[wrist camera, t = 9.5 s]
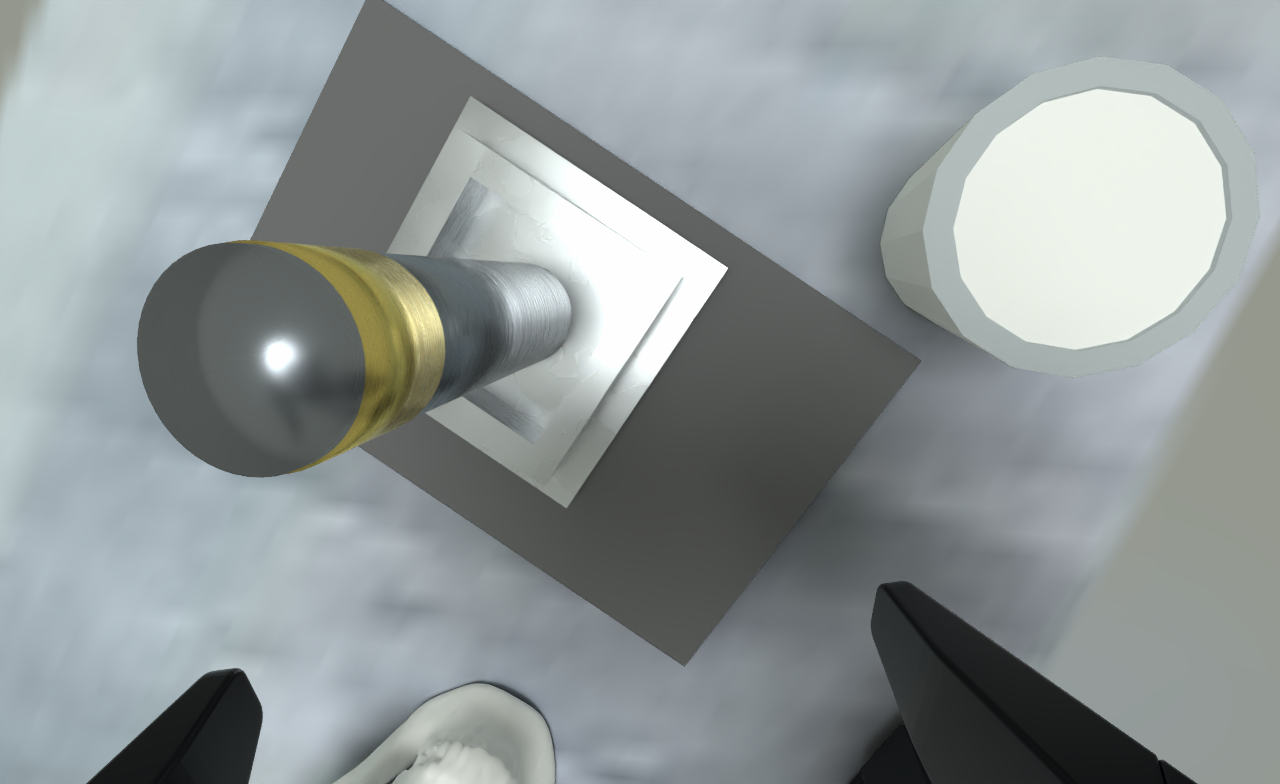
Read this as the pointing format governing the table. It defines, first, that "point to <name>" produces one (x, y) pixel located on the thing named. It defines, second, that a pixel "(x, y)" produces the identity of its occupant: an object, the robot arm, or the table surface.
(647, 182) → the mat
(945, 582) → the table surface
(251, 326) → the grey yellow-banded cylinder
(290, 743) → the table surface
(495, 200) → the silver square tray
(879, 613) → the robot arm
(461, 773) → the skull bowl
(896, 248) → the white cylinder
